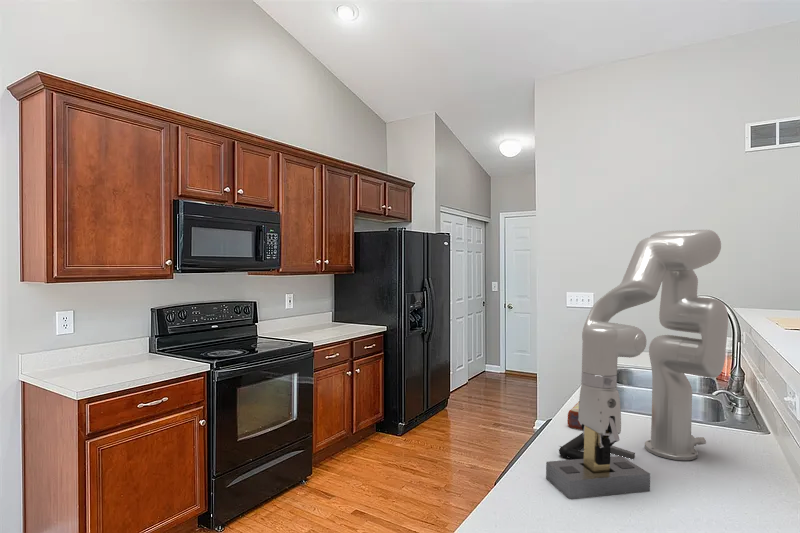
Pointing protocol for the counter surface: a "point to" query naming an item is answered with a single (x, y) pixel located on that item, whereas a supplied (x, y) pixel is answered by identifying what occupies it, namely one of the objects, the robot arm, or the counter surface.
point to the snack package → (574, 418)
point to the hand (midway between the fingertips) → (596, 459)
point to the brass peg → (592, 452)
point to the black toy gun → (573, 452)
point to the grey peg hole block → (597, 478)
